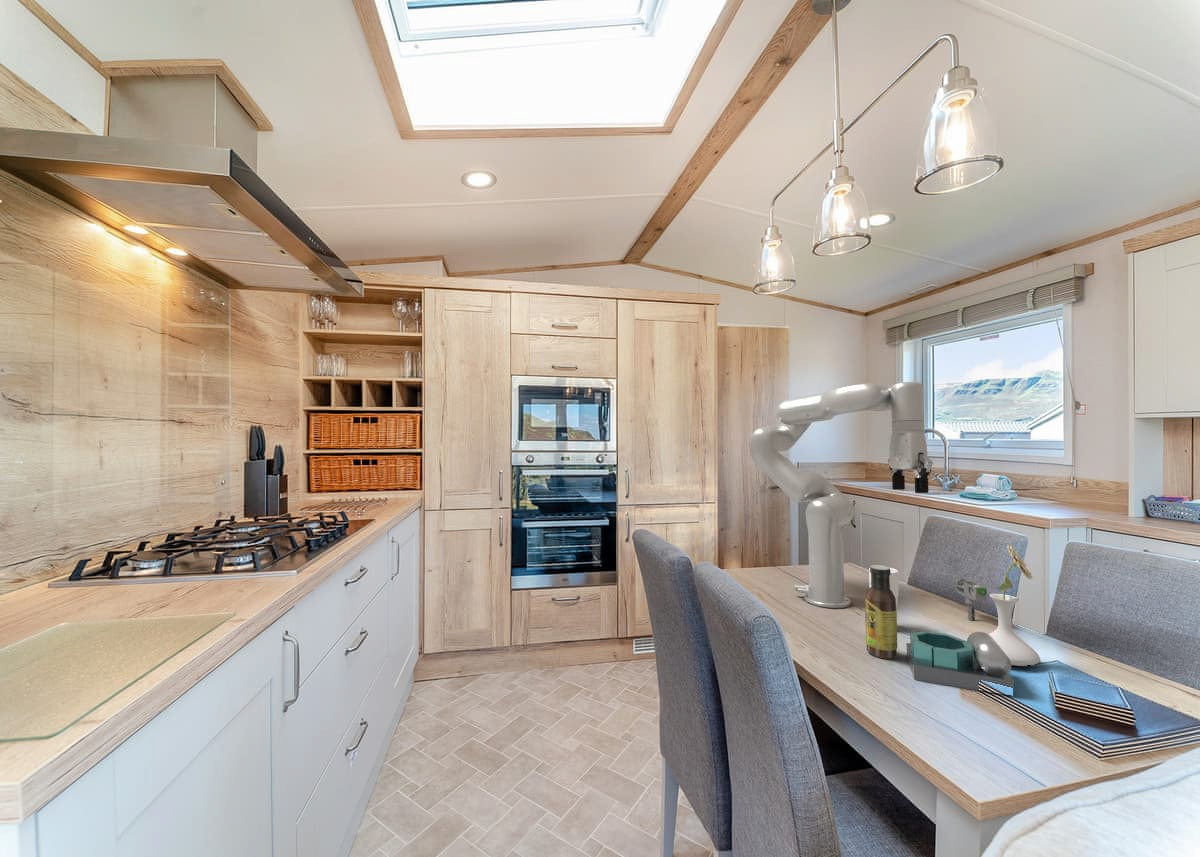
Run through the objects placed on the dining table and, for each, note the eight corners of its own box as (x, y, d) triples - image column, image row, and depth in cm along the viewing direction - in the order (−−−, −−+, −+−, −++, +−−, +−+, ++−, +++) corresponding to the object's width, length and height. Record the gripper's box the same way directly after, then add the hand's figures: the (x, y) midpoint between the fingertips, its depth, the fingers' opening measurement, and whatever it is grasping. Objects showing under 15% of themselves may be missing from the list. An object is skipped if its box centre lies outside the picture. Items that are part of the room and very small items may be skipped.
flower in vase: (1025, 676, 101) (1021, 554, 102) (963, 655, 111) (960, 544, 112) (1054, 662, 107) (1050, 547, 108) (992, 644, 117) (989, 538, 118)
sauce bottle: (863, 646, 116) (861, 562, 116) (893, 650, 114) (891, 564, 114) (869, 658, 110) (867, 568, 110) (901, 662, 108) (898, 570, 108)
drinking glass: (898, 624, 130) (896, 567, 130) (901, 633, 123) (900, 573, 124) (869, 621, 132) (867, 565, 133) (871, 629, 126) (869, 571, 127)
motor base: (914, 679, 100) (913, 639, 100) (906, 656, 110) (906, 620, 111) (1013, 696, 93) (1012, 654, 93) (995, 670, 103) (994, 632, 104)
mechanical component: (965, 613, 138) (964, 577, 138) (990, 627, 128) (989, 588, 128) (954, 613, 138) (953, 577, 138) (978, 626, 128) (977, 588, 128)
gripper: (876, 429, 141) (877, 488, 141) (914, 426, 124) (916, 494, 124) (901, 428, 141) (903, 488, 141) (944, 426, 124) (946, 494, 124)
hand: (909, 491), depth 132 cm, fingers open, 9 cm apart
